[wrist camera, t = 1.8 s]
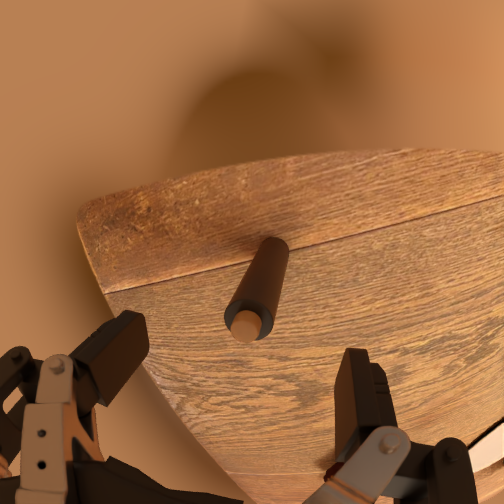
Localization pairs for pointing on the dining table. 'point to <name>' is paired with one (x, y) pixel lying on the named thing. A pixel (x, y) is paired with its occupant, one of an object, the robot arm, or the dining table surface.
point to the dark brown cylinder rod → (258, 293)
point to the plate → (488, 449)
